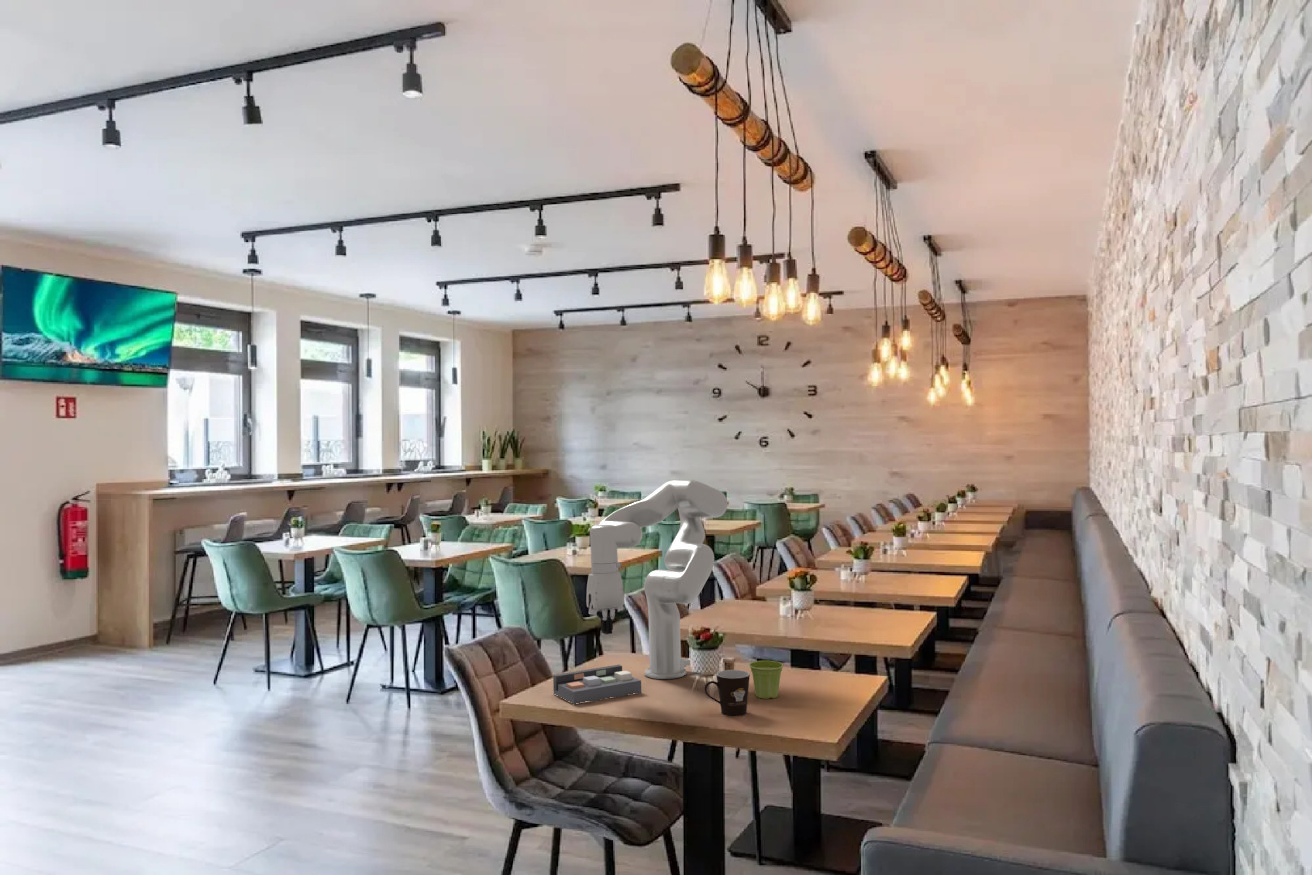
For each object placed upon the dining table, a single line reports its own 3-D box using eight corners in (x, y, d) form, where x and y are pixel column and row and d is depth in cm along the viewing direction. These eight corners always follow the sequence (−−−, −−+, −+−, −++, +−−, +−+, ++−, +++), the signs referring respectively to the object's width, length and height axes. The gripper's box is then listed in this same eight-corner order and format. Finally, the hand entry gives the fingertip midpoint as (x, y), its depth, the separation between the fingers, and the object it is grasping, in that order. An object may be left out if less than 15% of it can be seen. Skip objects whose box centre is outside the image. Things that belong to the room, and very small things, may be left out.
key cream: (625, 678, 271) (625, 670, 271) (631, 681, 268) (631, 673, 268) (614, 680, 269) (614, 672, 269) (620, 683, 266) (620, 674, 266)
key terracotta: (578, 690, 263) (578, 681, 263) (584, 692, 260) (584, 684, 260) (566, 692, 261) (566, 683, 261) (572, 694, 258) (572, 686, 258)
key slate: (594, 684, 266) (594, 675, 266) (600, 686, 263) (600, 678, 263) (583, 686, 264) (582, 677, 264) (588, 688, 261) (588, 680, 261)
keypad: (619, 683, 277) (618, 664, 277) (641, 692, 266) (641, 673, 266) (553, 694, 266) (553, 674, 266) (573, 704, 255) (573, 684, 255)
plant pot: (788, 693, 262) (787, 662, 262) (778, 702, 253) (777, 669, 253) (756, 690, 266) (755, 659, 266) (745, 698, 257) (744, 666, 257)
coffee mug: (750, 708, 248) (749, 669, 248) (750, 717, 239) (749, 678, 239) (706, 707, 249) (705, 669, 249) (704, 717, 240) (703, 678, 241)
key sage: (610, 684, 268) (610, 676, 268) (616, 687, 265) (616, 678, 265) (599, 686, 266) (598, 678, 266) (605, 689, 263) (604, 680, 263)
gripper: (621, 564, 274) (623, 627, 274) (575, 569, 266) (577, 634, 267) (634, 567, 268) (636, 631, 268) (587, 572, 260) (589, 639, 260)
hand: (607, 633), depth 267 cm, fingers closed
